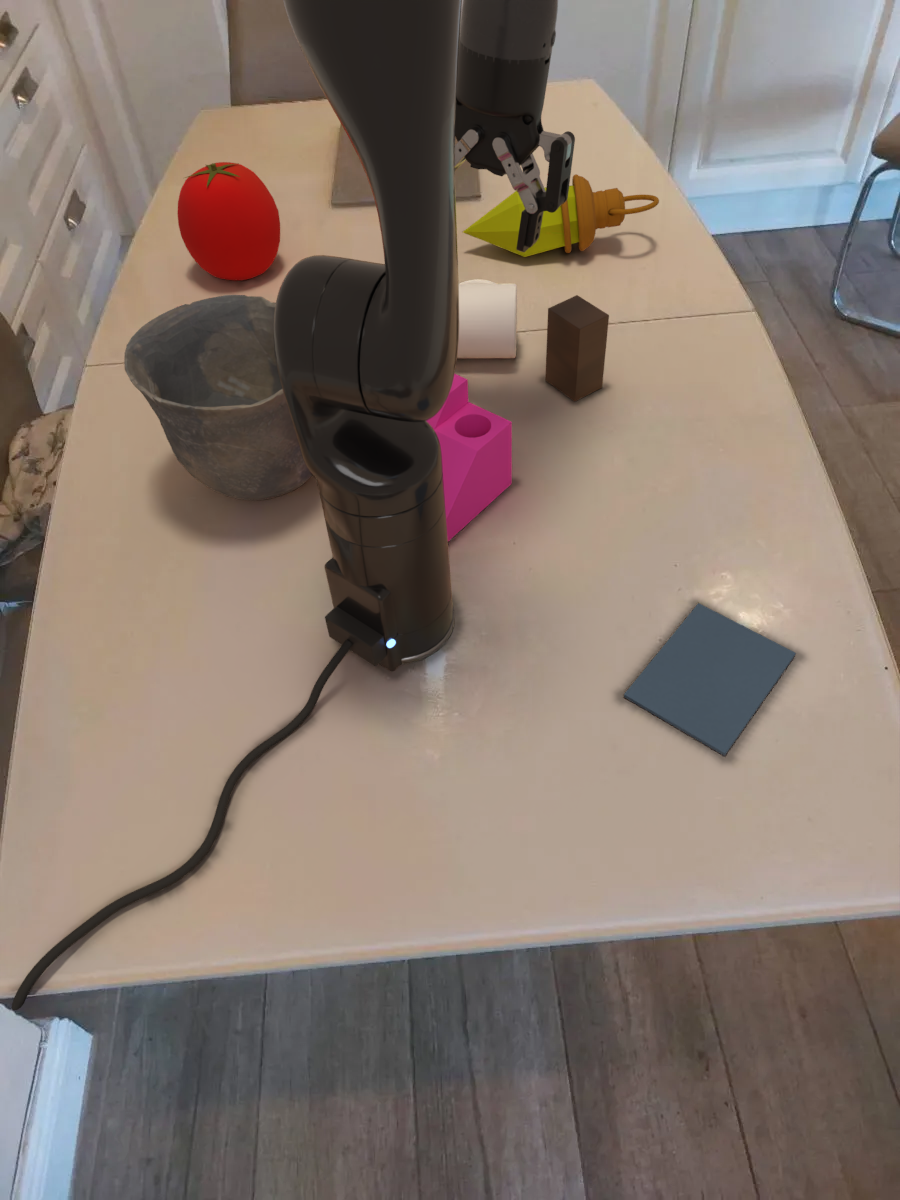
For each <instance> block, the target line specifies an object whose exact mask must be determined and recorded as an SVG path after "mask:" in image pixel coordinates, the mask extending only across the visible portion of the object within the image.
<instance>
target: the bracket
mask: <svg viewBox="0 0 900 1200" xmlns="http://www.w3.org/2000/svg"><path fill="white" fill-rule="evenodd" d="M427 422H428V423H429V424H430V425H431V426H432V428H433V429H434V431H435V432H436V434H437V436H438V439H439V442H440V445H441V452H442V464H443V482H444V496H445V511H446V524H447V538H448V542H450V541H451V540H452V539H453V538H454V537H456V535H458V533H460V532H461V531H462V530H463V529H464V528H465V527H467V525H468V524H469V523H470V522H471V521H473V520H474V519H475V518H476V517H477V516H478V515H479V514H481V512H482V511H483V510H485V509H486V508H487V507H488V506H489V505H490V504H491V503H492V502H493V501H495V500H496V499H497V498H498V497H499V496H500V495H501V494H502V493H503V492H505V491H506V489H508V488H509V487H510V486H511V485H512V483H513V481H512V480H513V473H512V471H513V469H512V468H513V466H512V465H513V464H512V463H513V459H512V458H513V441H512V440H513V422H512V421H511V420H510V419H509V420H508V419H506V418H504V417H503V416H501V415H498V414H496V413H493V412H491V411H490V410H487V409H486V408H484V407H480V406H478V405H477V404H474V403H473V402H471V401H469V381H468V378H465V377H464V376H461V375H459V374H457V373H455V374H454V378H453V383H452V387H451V389H450V392H449V395H448V397H447V400H446V402H445V404H444V405H443V407H442V408H441V410H440V411H439V412H438V413H437V414H436V415H435V416H434V417H433V418H431V419H429V420H427Z"/></svg>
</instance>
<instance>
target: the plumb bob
mask: <svg viewBox="0 0 900 1200" xmlns="http://www.w3.org/2000/svg"><path fill="white" fill-rule="evenodd" d="M571 180H572V181H571V183H572V185H569V191H568V198H567V201H566V202H565V203H564V204H562V205H561V206H560V207H559V208H558V209H557V210H556V211H555V212H553V213H550V212H548V211H544V212H543V217H542V223H541V229H540V235H539V238H538V240H537V242H536V243H535V244H534V245H533V246H532V247H529V248H528V249H527V250H526V251H525V252H521V251H518V250H517V249H516V248H517V241H518V234H519V227H520V221H521V214H522V211H524V210H525V207H524V205H523V202H522V200H521V198H520V196H519V194H518V192H517V191H515V190H514V192H512V193H511V194H510V195H509V196H507V197H506V198H505V199H504V200H502V201H501V202H500V203H498V204H497V205H496V206H494V207H493V208H491V209H490V210H489V211H488V212H486V213H485V214H484V215H482V216H481V217H480V218H479V219H477V220H476V221H475V222H474V223H472V224H471V225H470V226H468V227H466V229H464V230H463V231H462V234H466V235H467V236H470V237H473V238H476V239H478V240H481V241H482V242H487V244H491V245H493V246H496V247H498V248H501V249H504V250H506V251H509V252H511V253H513V254H516V255H519V256H521V257H524V258H526V257H530V256H533V255H538V254H540V253H545V252H547V251H548V252H549V251H552V250H556V249H559V248H564V249H563V250H564V252H565V253H566V254H570V253H571V251H572V245H574V244H577V246H578V250H579V251H580V252H584V251H585V250H586V249H588V248H589V247H590V246H591V245H592V243H593V242H594V241H595V238H596V237H595V236H596V231H597V230H598V229H601V230H602V229H605V228H613V227H620V226H621V225H622V223H623V222H624V220H625V216H626V215H632V214H638V213H644V212H647V211H650V210H652V209H654V208H656V207H657V206H658V205H659V203H660V199H659V197H658V196H656V195H653V194H633V195H632V194H631V195H626V196H624V193H623V192H622V191H621V190H620V189H619V188H618V187H614V188H607V189H604V190H602V189H601V190H597V191H593V188H592V185H591V184H590V182H589V180H588V179H586V178H585V177H583V176H580V175H579V174H577V173H576V174H573V175H572V179H571ZM546 187H547V186H546ZM546 187H545V186H544V188H545V191H546ZM631 201H651V202H650V203H648V204H645V205H642V206H638V207H634V208H633V207H632V208H626V202H631Z"/></svg>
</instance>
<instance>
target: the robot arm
mask: <svg viewBox="0 0 900 1200" xmlns="http://www.w3.org/2000/svg"><path fill="white" fill-rule="evenodd" d="M282 1H283V6H284V9H285V12H286V16H287V19H288V22H289V25H290V28H291V30H292V32H293V36H294V37H295V39H296V41H297V44H298V46H299V49H300V51H301V52H302V54H303V56H304V58H305V60H306V62H307V64H308V66H309V68H310V71H311V72H312V74H313V76H314V78H315V80H316V81H317V83H318V86H319V87H320V89H321V91H322V92H323V94H324V96H325V99H326V100H327V102H328V103H329V105H330V107H331V108H332V111H333V112H334V114H335V116H336V118H337V119H338V121H339V122H340V125H341V126H342V128H343V130H344V131H345V133H346V135H347V137H348V138H349V142H350V143H351V145H352V147H353V149H354V151H355V153H356V155H357V157H358V159H359V162H360V164H361V166H362V168H363V171H364V174H365V176H366V178H367V181H368V184H369V187H370V190H371V193H372V195H373V196H372V197H373V200H374V205H375V207H376V211H377V216H378V217H377V218H378V223H379V228H380V229H379V230H380V234H381V242H382V249H383V250H382V251H383V259H384V260H383V261H384V263H380V262H373V261H368V260H367V261H366V260H360V259H355V258H354V259H353V258H349V257H341V256H334V255H327V254H326V255H325V254H318V255H317V254H314V255H310V256H307V257H305V258H302V259H301V260H299V261H298V262H297V263H295V264H294V265H293V266H292V267H291V268H290V269H289V270H288V272H287V274H286V275H285V277H284V279H283V281H282V282H281V284H280V287H279V290H278V292H277V295H276V296H277V297H276V300H275V303H276V305H275V311H274V320H273V338H274V352H275V358H276V364H277V369H278V374H279V378H280V382H281V386H282V390H283V393H284V397H285V400H286V403H287V407H288V410H289V413H290V416H291V420H292V423H293V426H294V430H295V433H296V437H297V440H298V443H299V447H300V450H301V454H302V458H303V460H304V462H305V464H306V466H307V468H308V469H309V471H310V472H311V473H312V476H313V477H314V478H315V481H316V484H317V485H316V486H317V489H318V494H319V497H320V502H321V507H322V511H323V517H324V523H325V528H326V531H327V537H328V540H329V546H330V550H331V556H332V557H331V558H330V559H329V560H328V561H327V562H325V564H324V572H325V576H326V580H327V581H326V582H327V584H328V589H329V594H330V598H331V599H330V600H331V603H332V607H333V609H331V610H330V611H329V612H328V613H327V614H326V615H325V616H324V620H325V623H326V628H327V632H328V637H329V638H331V639H332V640H334V641H335V642H337V643H338V644H340V647H339V648H338V649H337V651H336V652H335V654H333V656H332V657H331V658H330V660H329V662H328V663H327V664H326V666H325V667H324V669H323V670H322V671H321V673H320V675H319V676H318V678H317V679H316V681H315V683H314V685H313V688H312V690H311V692H310V695H309V697H308V700H307V702H306V703H305V705H304V707H302V709H301V710H300V711H299V712H298V714H297V715H295V717H294V718H293V719H292V720H291V721H290V722H289V723H288V724H286V725H285V726H284V727H283V728H281V729H280V730H279V731H277V732H276V733H274V734H273V735H272V736H270V737H268V738H267V739H266V740H264V741H263V742H261V743H259V744H258V745H257V746H256V747H254V748H253V749H252V750H250V751H249V753H247V755H245V756H244V757H243V759H241V761H240V762H238V764H237V765H236V767H234V769H233V770H232V772H231V773H230V775H229V777H228V779H227V780H226V781H225V784H224V786H223V788H222V791H221V794H220V796H219V799H218V803H217V804H216V805H217V806H216V809H215V812H214V816H213V818H212V822H211V825H210V828H209V830H208V833H207V835H206V836H205V838H204V840H203V842H202V843H201V845H200V846H199V848H198V849H197V850H196V851H195V853H194V854H193V855H192V856H191V857H190V858H189V859H188V860H186V862H185V863H183V864H182V865H181V866H179V867H178V868H177V869H176V870H174V871H172V872H171V873H169V874H167V875H166V876H164V877H162V878H160V879H158V880H156V881H154V882H151V883H149V884H146V885H145V886H142V887H140V888H138V889H136V890H135V889H134V890H133V891H131V892H129V893H127V894H125V895H123V896H121V897H119V898H118V899H116V900H114V901H112V902H111V903H109V904H107V905H105V906H104V907H103V908H101V909H100V910H99V911H97V912H96V913H95V914H93V915H92V916H90V917H89V918H88V919H87V920H85V921H84V922H83V923H81V924H80V925H79V926H77V927H75V929H73V930H72V931H71V932H70V933H68V934H67V935H66V936H65V937H63V938H62V939H61V940H59V941H58V942H57V944H55V945H54V946H53V947H51V948H50V949H49V950H48V951H47V952H46V953H45V954H44V955H42V957H41V958H40V959H39V960H38V961H37V962H36V964H35V965H34V966H33V967H32V968H31V969H30V971H29V972H28V974H27V975H26V976H25V978H24V979H23V981H22V982H21V984H20V986H19V988H18V989H17V991H16V993H15V995H14V997H13V1000H12V1003H11V1010H12V1011H18V1010H20V1009H21V1008H22V1007H23V1005H25V1002H26V999H27V998H28V996H29V994H30V993H31V990H32V989H33V987H34V986H35V984H36V982H37V981H38V980H39V978H40V977H41V976H42V975H43V974H44V972H45V971H46V970H48V968H49V967H50V966H51V965H52V964H53V963H54V962H55V961H56V960H57V959H58V958H59V957H60V956H62V954H64V953H65V952H66V951H67V950H68V949H70V948H71V947H72V946H73V945H74V944H76V943H77V942H78V941H79V940H81V939H82V938H83V937H84V936H86V935H87V934H88V933H89V932H91V931H93V930H94V929H95V928H96V927H98V926H99V925H100V924H102V923H103V922H104V921H106V920H107V919H108V918H110V917H111V916H112V915H114V914H117V912H119V911H121V910H123V909H124V908H126V907H129V906H130V905H132V904H134V903H136V902H138V901H140V900H143V899H145V898H147V897H149V896H152V895H154V894H156V893H158V892H161V891H163V890H165V889H166V888H168V887H170V886H172V885H174V884H175V883H178V882H179V881H180V880H183V878H185V877H186V876H187V875H188V874H190V873H191V872H192V871H193V870H194V869H196V867H197V866H198V865H200V864H201V862H203V860H204V859H205V858H206V856H207V855H208V854H209V852H210V851H211V849H212V848H213V846H214V844H215V843H216V840H217V838H218V836H219V834H220V831H221V829H222V826H223V823H224V820H225V816H226V812H227V809H228V806H229V802H230V799H231V796H232V794H233V791H234V789H235V787H236V785H237V783H238V781H239V780H240V779H241V777H242V776H243V774H244V773H245V771H246V770H247V769H248V768H249V767H250V766H251V765H252V764H253V763H254V762H255V761H256V760H257V759H258V758H259V757H261V756H262V755H263V754H265V753H266V752H267V751H269V750H270V749H272V748H273V747H274V746H276V745H277V744H279V743H280V742H281V741H283V740H284V739H286V738H287V737H289V736H290V735H291V734H292V733H293V732H295V731H296V730H297V729H298V728H299V727H300V726H301V725H302V724H303V723H304V722H305V721H306V720H307V718H308V717H309V716H310V715H311V714H312V712H313V711H314V709H315V707H316V705H317V703H318V701H319V699H320V697H321V693H322V692H323V689H324V687H325V685H326V684H327V682H328V681H329V679H330V677H331V676H332V674H333V673H334V672H335V670H336V669H337V667H338V666H339V665H340V663H341V662H342V661H343V659H344V658H345V657H346V655H347V654H348V653H349V651H351V652H352V653H353V654H355V655H356V656H357V657H359V658H361V659H362V660H364V661H365V662H367V663H368V664H370V665H371V666H373V667H377V666H378V665H380V666H381V667H383V668H384V669H386V670H388V671H389V672H395V671H396V670H397V669H398V668H399V667H401V666H403V665H406V664H413V663H416V662H420V661H423V660H424V659H427V658H428V657H431V656H432V655H434V654H436V653H437V652H438V651H439V650H440V649H442V648H443V647H444V646H445V645H446V643H447V642H448V640H449V639H450V638H451V636H452V633H453V630H454V627H455V622H456V621H455V618H456V617H455V609H454V604H453V592H452V580H451V568H450V567H451V565H450V554H449V552H450V551H449V541H448V538H447V524H446V511H445V496H444V482H443V464H442V452H441V445H440V442H439V439H438V436H437V434H436V432H435V431H434V429H433V428H432V426H431V425H430V424H429V423H428V422H427V420H429V419H431V418H433V417H434V416H435V415H436V414H437V413H438V412H439V411H440V410H441V408H442V407H443V405H444V404H445V402H446V400H447V397H448V395H449V392H450V389H451V387H452V383H453V378H454V374H456V370H457V363H458V358H457V354H458V343H459V283H460V281H459V260H458V259H459V257H458V256H459V255H458V232H457V231H458V228H457V227H458V226H457V202H456V201H457V198H456V195H457V194H456V171H458V169H459V168H460V167H461V166H462V165H463V164H464V163H465V162H466V161H467V163H468V164H470V168H471V169H476V170H487V171H488V172H490V173H491V174H493V175H496V176H499V177H503V176H505V175H506V176H507V178H508V181H509V183H510V185H511V187H512V189H513V190H514V192H515V191H517V192H518V194H519V196H520V198H521V200H522V202H523V205H524V207H525V210H524V211H522V214H521V221H520V227H519V234H518V241H517V248H516V249H517V250H518V251H521V252H525V251H526V250H527V249H528V248H529V247H532V246H533V245H534V244H535V243H536V242H537V240H538V238H539V235H540V229H541V223H542V217H543V212H544V211H548V212H550V213H553V212H555V211H556V210H557V209H558V208H559V207H560V206H561V205H562V204H564V203H565V202H566V201H567V198H568V191H569V186H570V183H571V175H572V168H573V167H572V166H573V160H574V159H573V158H574V150H575V143H576V137H575V134H574V133H573V132H571V131H565V132H564V133H562V134H559V133H555V132H551V131H546V130H544V127H543V124H542V114H543V110H544V105H545V98H546V92H547V85H548V78H549V72H550V66H551V58H552V53H553V47H554V45H555V41H556V37H557V31H556V26H557V21H558V11H559V0H282ZM456 141H457V143H456ZM539 147H541V148H542V150H543V155H544V157H543V158H544V159H545V161H546V162H547V163H548V169H547V179H546V191H545V185H544V184H543V182H542V179H541V170H540V167H539V165H538V163H537V160H536V158H535V155H534V152H535V151H536V150H537V149H538V148H539Z"/></svg>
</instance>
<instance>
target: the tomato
mask: <svg viewBox="0 0 900 1200" xmlns="http://www.w3.org/2000/svg"><path fill="white" fill-rule="evenodd" d="M184 179H185V180H184V183H183V184H182V187H181V188H180V190H179V191H180V192H179V196H178V200H177V213H176V214H177V223H178V228H179V233H180V237H181V239H182V241H183V243H184V246H185V248H186V249H187V252H188V253H189V255H190V256H191V258H192V259H193V260H194V261H195V262H196V264H197V265H198V266H199V267H200V268H201V269H202V270H203V271H205V272H206V273H207V274H209V275H211V276H212V277H215V278H217V279H220V280H227V281H229V280H230V281H246V280H250V279H254V278H256V277H258V276H260V275H262V274H264V273H266V271H267V270H268V269H269V268H270V267H271V266H272V265H273V263H274V261H275V260H276V258H277V255H278V252H279V248H280V242H281V219H280V213H279V208H278V206H277V204H276V201H275V198H274V197H273V195H272V194H271V192H270V190H269V189H268V187H267V186H266V184H265V183H264V182H263V180H262V179H261V177H259V176H258V175H257V174H256V172H254V171H253V170H252V169H249V168H248V167H246V165H245V166H244V165H243V164H241V163H238V162H230V161H228V162H227V161H219V162H212V163H210V164H205V166H203V167H201V168H199V169H197V170H196V171H195V172H193V173H191V174H190V175H189V176H185V177H184Z"/></svg>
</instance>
